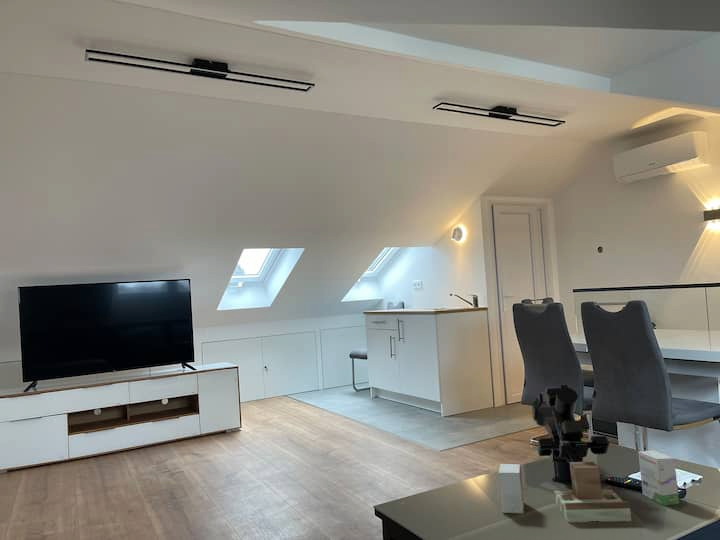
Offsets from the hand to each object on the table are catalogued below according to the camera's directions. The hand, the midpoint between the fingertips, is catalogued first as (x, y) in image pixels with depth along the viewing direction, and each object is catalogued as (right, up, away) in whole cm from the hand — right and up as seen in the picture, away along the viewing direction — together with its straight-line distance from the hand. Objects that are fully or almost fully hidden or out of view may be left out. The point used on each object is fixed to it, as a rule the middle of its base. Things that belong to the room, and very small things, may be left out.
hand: (580, 473), depth 142 cm
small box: (-19, -9, -2) cm, 21 cm away
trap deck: (0, -7, -8) cm, 10 cm away
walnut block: (0, -4, -5) cm, 6 cm away
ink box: (+20, -6, -3) cm, 21 cm away
